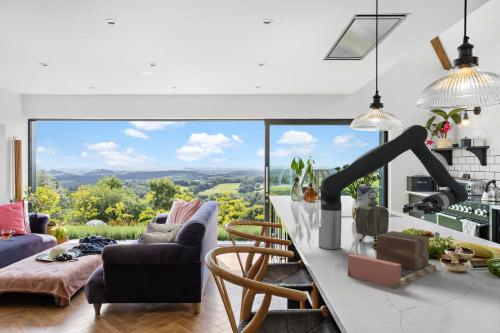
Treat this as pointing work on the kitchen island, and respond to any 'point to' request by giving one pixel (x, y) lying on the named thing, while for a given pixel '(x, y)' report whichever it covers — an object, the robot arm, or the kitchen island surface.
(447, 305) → the kitchen island surface
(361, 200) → the juice carton
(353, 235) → the kitchen island surface
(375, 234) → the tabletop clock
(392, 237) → the brown cardboard box
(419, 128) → the robot arm
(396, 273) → the roller track
